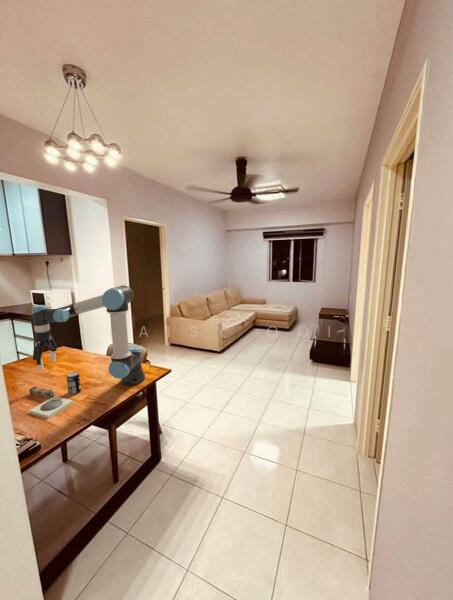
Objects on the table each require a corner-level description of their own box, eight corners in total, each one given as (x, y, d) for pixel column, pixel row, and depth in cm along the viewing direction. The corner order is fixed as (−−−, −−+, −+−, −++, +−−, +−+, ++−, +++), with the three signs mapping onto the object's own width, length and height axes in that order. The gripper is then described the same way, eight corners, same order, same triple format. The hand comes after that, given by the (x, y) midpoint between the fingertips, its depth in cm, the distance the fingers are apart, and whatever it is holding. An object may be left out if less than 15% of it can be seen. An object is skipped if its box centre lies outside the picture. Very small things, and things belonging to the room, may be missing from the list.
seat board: (73, 403, 141) (72, 400, 141) (48, 418, 128) (48, 415, 128) (55, 398, 145) (54, 395, 145) (29, 413, 132) (29, 409, 132)
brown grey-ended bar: (53, 395, 148) (52, 389, 147) (48, 398, 145) (47, 392, 144) (35, 391, 153) (34, 385, 152) (30, 394, 150) (29, 388, 149)
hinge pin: (56, 397, 147) (55, 390, 146) (52, 399, 144) (51, 392, 144) (53, 396, 148) (52, 389, 147) (48, 398, 145) (47, 391, 144)
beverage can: (78, 388, 157) (76, 370, 155) (83, 391, 153) (80, 373, 151) (67, 392, 152) (64, 374, 150) (71, 396, 148) (68, 377, 146)
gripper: (49, 325, 160) (53, 357, 165) (20, 337, 138) (26, 374, 142) (60, 325, 161) (65, 357, 165) (34, 337, 138) (40, 373, 142)
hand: (47, 365), depth 153 cm, fingers open, 11 cm apart
